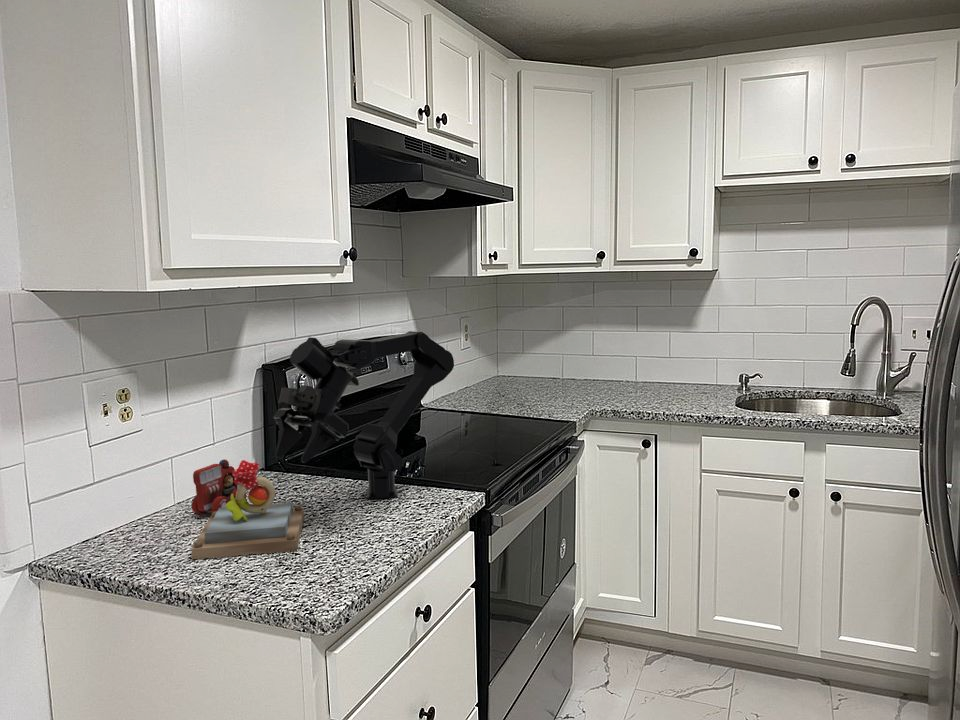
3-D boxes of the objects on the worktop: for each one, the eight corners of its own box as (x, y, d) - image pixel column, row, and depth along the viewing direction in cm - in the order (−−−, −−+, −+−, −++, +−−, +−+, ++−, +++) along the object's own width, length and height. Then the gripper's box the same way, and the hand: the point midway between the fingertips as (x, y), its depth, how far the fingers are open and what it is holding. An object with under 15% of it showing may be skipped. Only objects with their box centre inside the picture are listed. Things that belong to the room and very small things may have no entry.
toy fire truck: (253, 503, 161) (249, 456, 160) (212, 522, 150) (208, 472, 149) (228, 500, 164) (224, 454, 163) (186, 518, 153) (182, 469, 151)
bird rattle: (258, 519, 145) (213, 510, 140) (278, 465, 146) (233, 454, 141) (268, 529, 139) (221, 519, 134) (288, 472, 140) (242, 461, 135)
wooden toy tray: (212, 524, 148) (210, 505, 148) (304, 517, 151) (303, 498, 150) (192, 560, 130) (190, 538, 130) (296, 550, 133) (295, 529, 133)
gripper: (274, 370, 153) (234, 435, 146) (326, 370, 140) (285, 442, 133) (312, 399, 159) (275, 463, 153) (365, 402, 146) (328, 471, 140)
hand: (289, 459), depth 145 cm, fingers open, 9 cm apart
